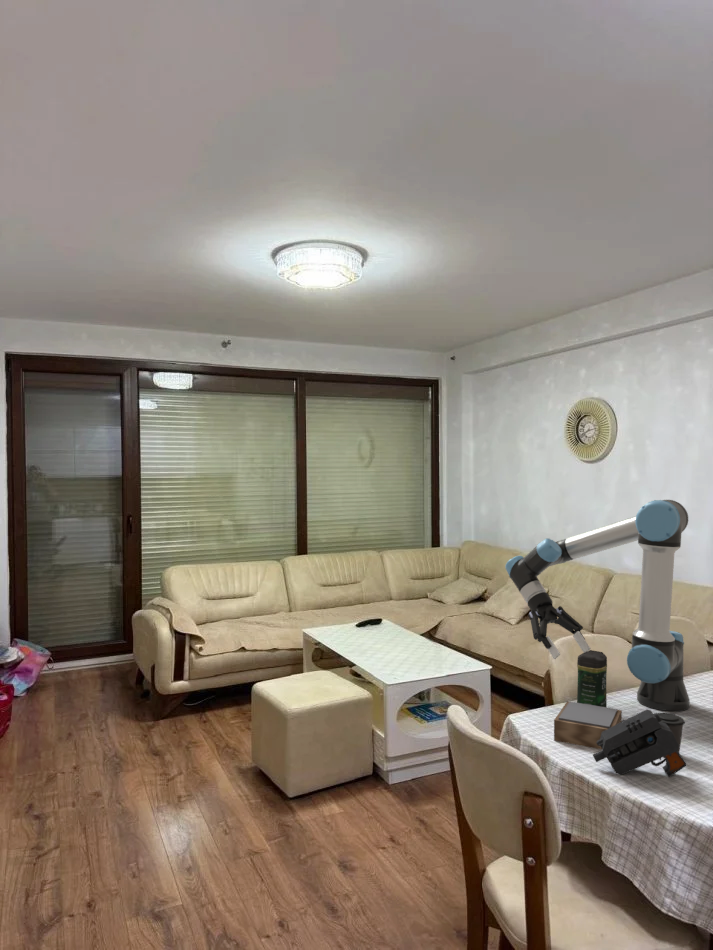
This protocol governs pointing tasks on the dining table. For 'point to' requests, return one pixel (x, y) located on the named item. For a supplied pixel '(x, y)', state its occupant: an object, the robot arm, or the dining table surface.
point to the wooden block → (584, 723)
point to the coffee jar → (592, 678)
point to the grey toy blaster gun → (640, 744)
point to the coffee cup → (673, 725)
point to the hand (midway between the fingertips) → (572, 654)
